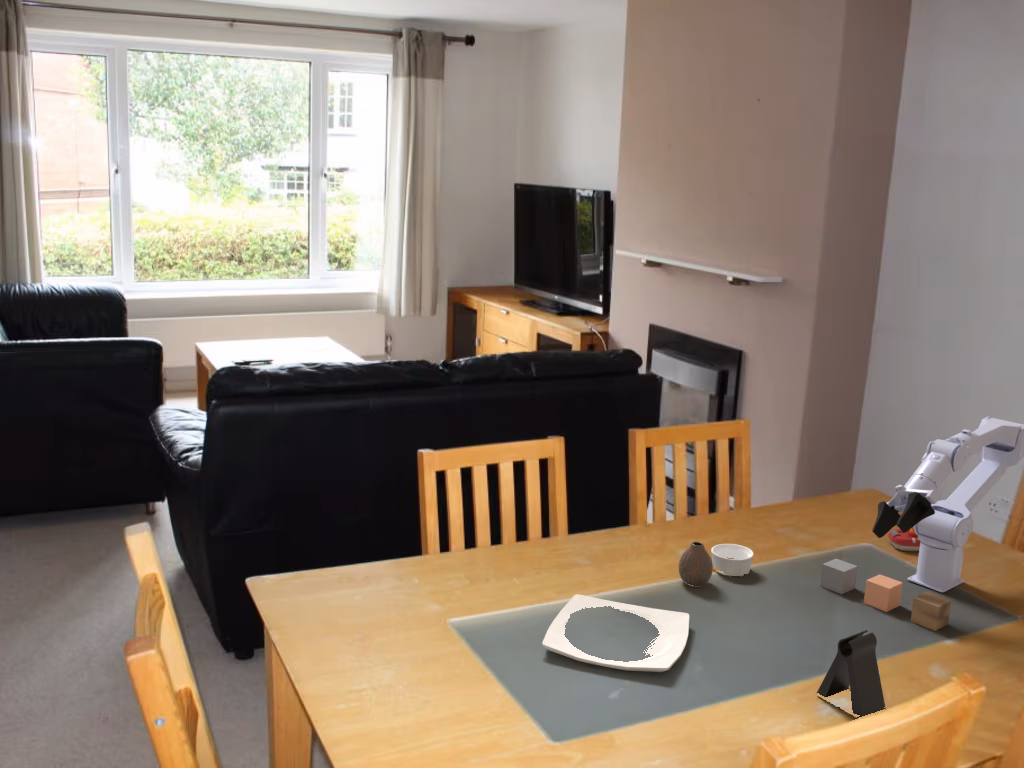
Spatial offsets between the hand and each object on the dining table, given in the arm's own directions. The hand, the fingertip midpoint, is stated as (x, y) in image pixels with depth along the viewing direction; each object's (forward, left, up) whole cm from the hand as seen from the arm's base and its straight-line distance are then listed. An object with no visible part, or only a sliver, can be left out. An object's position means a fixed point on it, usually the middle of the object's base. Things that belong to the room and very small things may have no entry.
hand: (888, 531), depth 193 cm
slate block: (-2, -11, -16) cm, 19 cm away
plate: (+52, -22, -17) cm, 59 cm away
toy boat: (-37, -13, -16) cm, 42 cm away
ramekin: (+9, -30, -16) cm, 35 cm away
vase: (+21, -30, -16) cm, 40 cm away
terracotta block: (-2, -1, -16) cm, 16 cm away
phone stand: (+37, +16, -16) cm, 44 cm away
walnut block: (-2, +9, -16) cm, 19 cm away
